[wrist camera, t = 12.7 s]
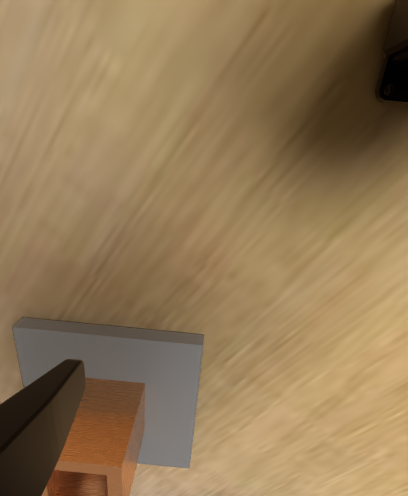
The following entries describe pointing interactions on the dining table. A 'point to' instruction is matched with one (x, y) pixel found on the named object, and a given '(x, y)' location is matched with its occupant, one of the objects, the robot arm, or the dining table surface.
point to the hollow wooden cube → (102, 441)
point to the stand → (126, 373)
